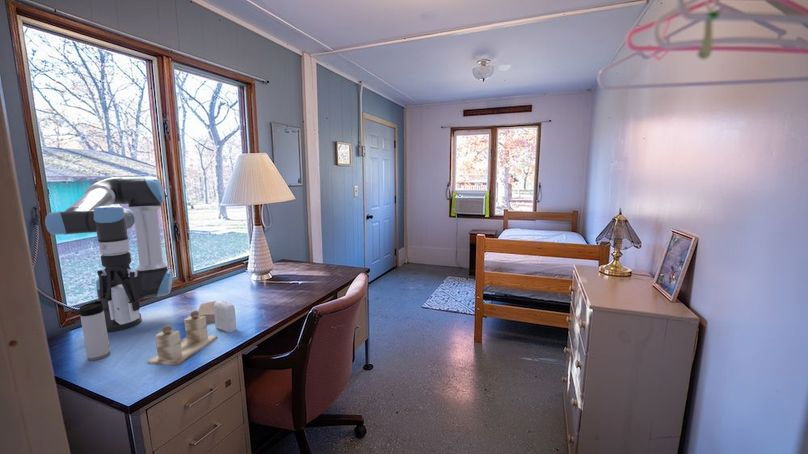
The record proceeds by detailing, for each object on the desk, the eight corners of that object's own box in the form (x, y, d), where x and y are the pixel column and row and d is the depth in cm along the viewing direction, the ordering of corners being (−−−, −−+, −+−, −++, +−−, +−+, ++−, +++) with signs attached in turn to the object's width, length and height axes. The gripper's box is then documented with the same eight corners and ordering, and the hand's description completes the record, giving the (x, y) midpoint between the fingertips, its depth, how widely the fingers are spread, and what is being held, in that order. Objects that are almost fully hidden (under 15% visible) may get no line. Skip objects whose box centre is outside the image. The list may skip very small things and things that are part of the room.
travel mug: (115, 350, 128) (107, 300, 125) (100, 360, 121) (92, 307, 118) (98, 351, 127) (90, 300, 124) (82, 360, 121) (73, 307, 118)
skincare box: (114, 321, 115) (108, 287, 113) (130, 316, 119) (124, 283, 117) (121, 325, 112) (115, 290, 110) (137, 320, 115) (131, 286, 113)
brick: (216, 322, 152) (215, 312, 151) (194, 325, 149) (193, 315, 148) (221, 309, 167) (220, 300, 166) (201, 312, 164) (200, 302, 163)
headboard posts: (147, 363, 119) (142, 329, 117) (190, 336, 139) (187, 306, 137) (177, 365, 117) (173, 331, 115) (217, 337, 137) (214, 308, 135)
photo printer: (238, 329, 144) (235, 301, 142) (228, 333, 141) (226, 305, 139) (223, 324, 149) (220, 297, 147) (214, 328, 146) (211, 300, 144)
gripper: (77, 254, 109) (89, 321, 113) (131, 256, 106) (141, 325, 110) (101, 249, 117) (111, 312, 120) (152, 251, 114) (160, 315, 117)
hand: (125, 318), depth 115 cm, fingers closed on skincare box, 7 cm apart
